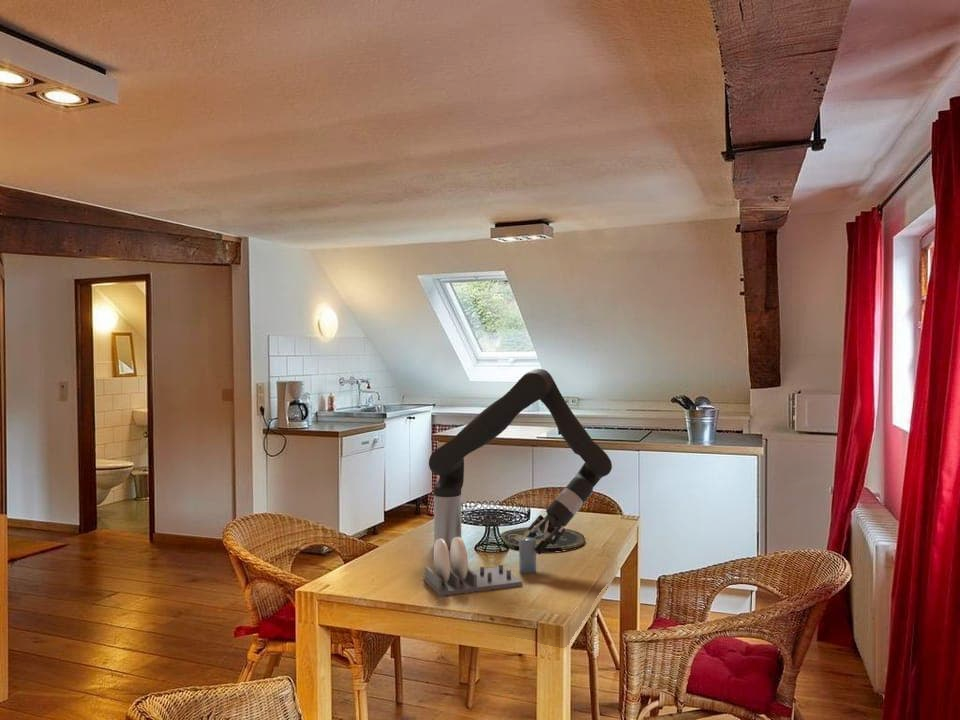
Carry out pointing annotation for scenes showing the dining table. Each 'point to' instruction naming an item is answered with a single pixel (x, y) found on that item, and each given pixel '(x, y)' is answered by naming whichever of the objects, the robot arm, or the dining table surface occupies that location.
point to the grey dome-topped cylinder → (527, 555)
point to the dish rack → (463, 572)
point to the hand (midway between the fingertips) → (530, 548)
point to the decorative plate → (565, 542)
